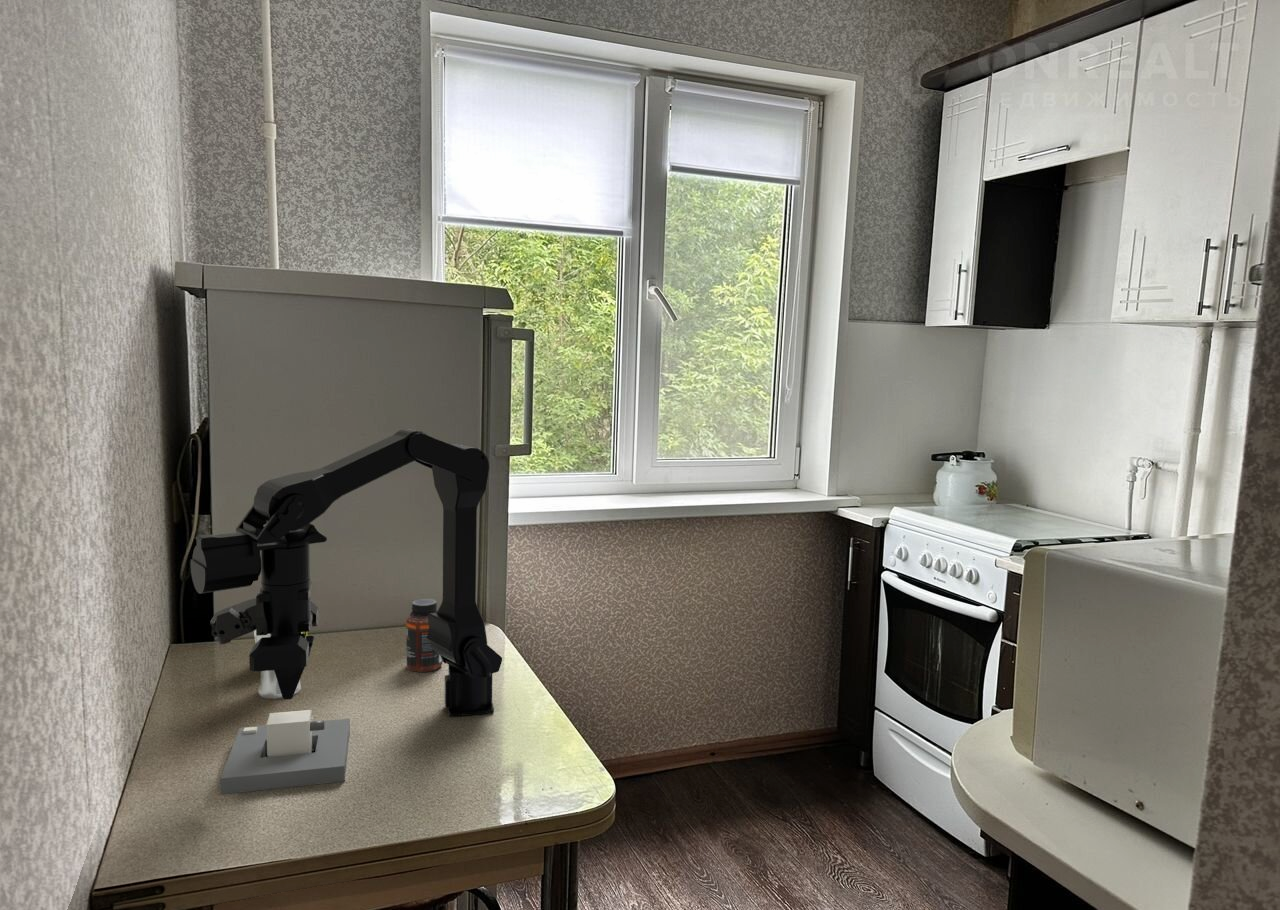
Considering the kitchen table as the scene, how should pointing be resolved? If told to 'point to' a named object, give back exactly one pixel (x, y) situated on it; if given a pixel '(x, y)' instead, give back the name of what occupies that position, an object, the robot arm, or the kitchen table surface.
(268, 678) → the beer glass
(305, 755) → the socket plate
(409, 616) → the supplement bottle
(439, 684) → the kitchen table surface
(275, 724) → the plug
